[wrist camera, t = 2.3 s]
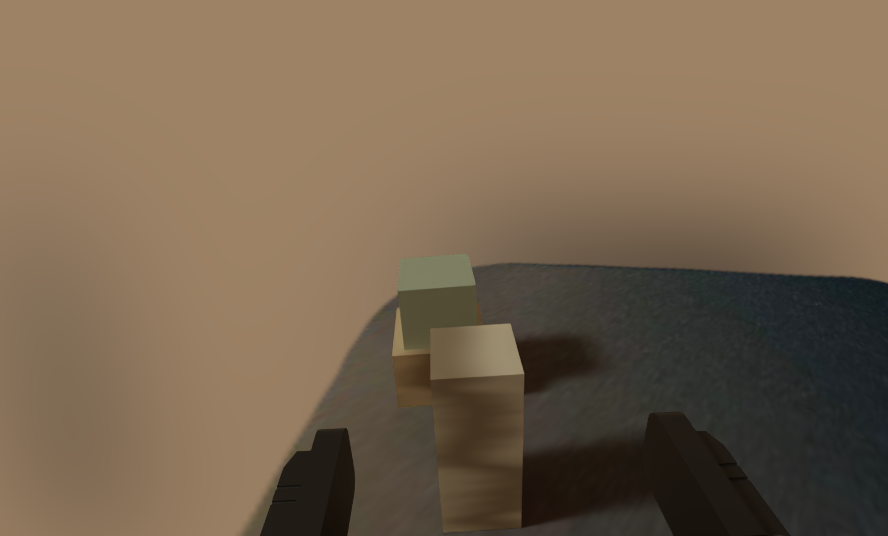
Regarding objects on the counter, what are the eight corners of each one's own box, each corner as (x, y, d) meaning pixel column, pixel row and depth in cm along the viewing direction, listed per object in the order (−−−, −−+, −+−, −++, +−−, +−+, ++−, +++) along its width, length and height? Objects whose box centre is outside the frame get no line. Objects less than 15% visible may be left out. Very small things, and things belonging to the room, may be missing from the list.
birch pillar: (509, 465, 32) (510, 323, 27) (521, 528, 28) (524, 374, 23) (441, 469, 32) (430, 328, 27) (443, 532, 28) (430, 379, 23)
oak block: (479, 350, 44) (478, 302, 42) (488, 402, 38) (487, 349, 36) (402, 355, 44) (397, 307, 42) (398, 409, 38) (391, 356, 36)
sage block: (470, 307, 41) (467, 253, 39) (477, 344, 36) (475, 285, 34) (405, 312, 41) (399, 258, 39) (404, 350, 36) (397, 291, 34)
